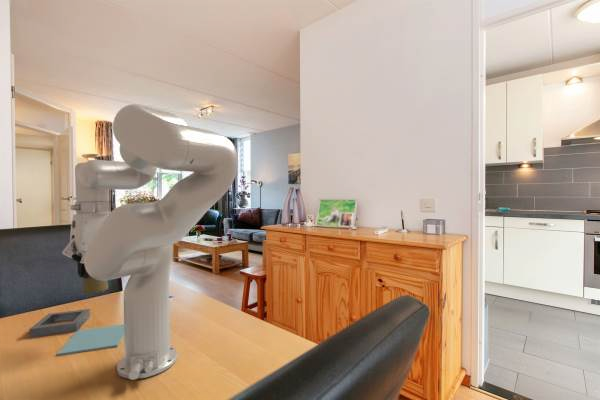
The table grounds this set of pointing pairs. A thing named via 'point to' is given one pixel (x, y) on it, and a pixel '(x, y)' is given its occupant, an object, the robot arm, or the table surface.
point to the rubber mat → (93, 339)
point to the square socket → (48, 328)
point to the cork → (93, 285)
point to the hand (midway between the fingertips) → (94, 273)
